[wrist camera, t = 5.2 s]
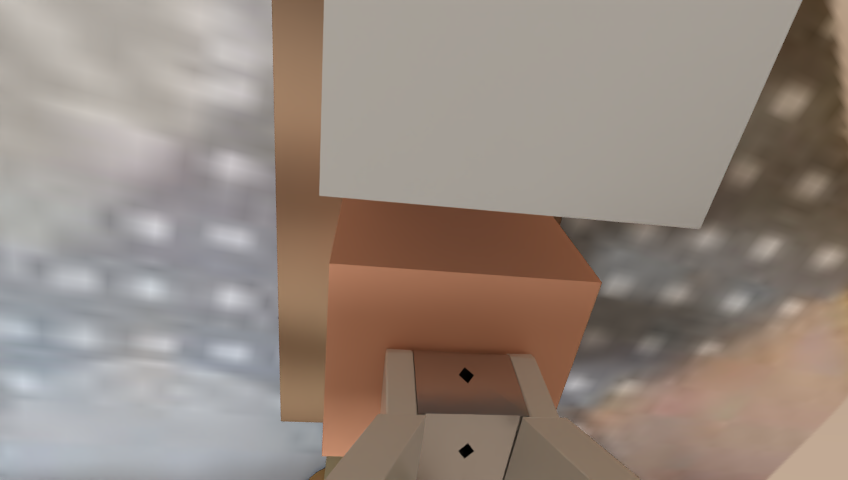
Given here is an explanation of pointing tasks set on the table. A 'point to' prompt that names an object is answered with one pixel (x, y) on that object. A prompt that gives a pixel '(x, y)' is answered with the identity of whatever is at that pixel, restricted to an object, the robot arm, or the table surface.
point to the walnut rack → (301, 208)
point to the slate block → (543, 102)
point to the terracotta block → (445, 298)
